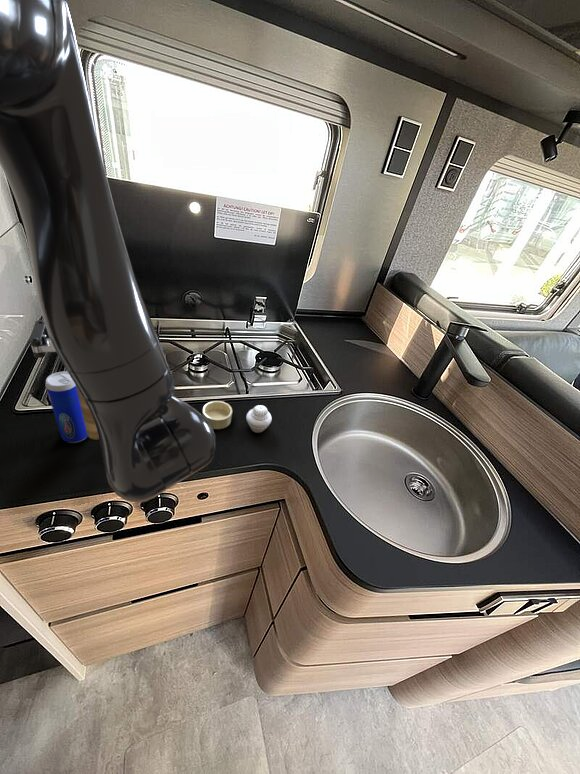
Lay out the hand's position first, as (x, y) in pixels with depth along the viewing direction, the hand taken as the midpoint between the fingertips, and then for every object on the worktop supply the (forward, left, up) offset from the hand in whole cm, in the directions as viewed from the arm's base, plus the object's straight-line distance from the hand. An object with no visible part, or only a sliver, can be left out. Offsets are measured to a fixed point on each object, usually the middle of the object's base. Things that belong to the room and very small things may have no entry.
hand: (71, 310), depth 52 cm
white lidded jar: (+32, -12, -31) cm, 46 cm away
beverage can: (-3, +5, -31) cm, 32 cm away
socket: (+25, -4, -31) cm, 40 cm away
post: (0, -3, -24) cm, 24 cm away
